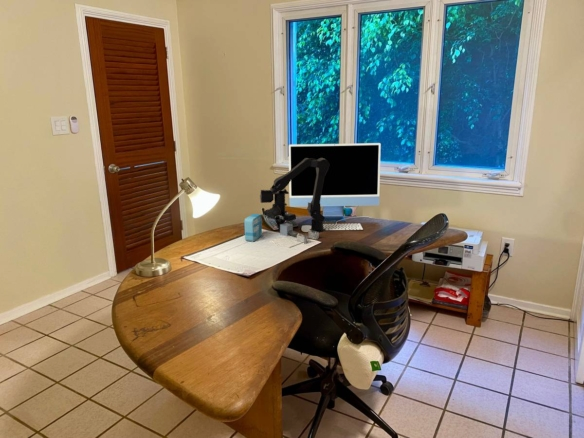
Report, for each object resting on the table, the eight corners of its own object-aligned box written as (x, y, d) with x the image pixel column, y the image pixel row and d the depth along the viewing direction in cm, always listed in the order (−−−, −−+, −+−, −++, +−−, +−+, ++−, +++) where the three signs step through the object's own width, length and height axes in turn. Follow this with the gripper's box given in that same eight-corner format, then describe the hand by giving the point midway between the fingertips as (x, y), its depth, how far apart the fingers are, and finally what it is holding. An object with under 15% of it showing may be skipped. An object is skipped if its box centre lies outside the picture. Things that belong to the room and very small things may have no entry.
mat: (281, 237, 226) (281, 236, 226) (301, 243, 217) (301, 242, 217) (269, 241, 220) (269, 241, 220) (289, 247, 211) (289, 247, 211)
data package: (253, 242, 219) (252, 219, 216) (245, 241, 220) (244, 218, 217) (262, 235, 230) (261, 213, 227) (254, 234, 231) (253, 213, 228)
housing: (311, 236, 228) (311, 229, 227) (318, 238, 224) (318, 231, 223) (296, 241, 219) (296, 234, 218) (304, 243, 216) (304, 236, 215)
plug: (285, 232, 235) (285, 222, 233) (303, 237, 227) (303, 227, 225) (280, 234, 232) (280, 224, 230) (297, 239, 223) (297, 229, 222)
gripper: (256, 201, 231) (257, 229, 235) (281, 207, 218) (282, 237, 223) (271, 198, 238) (271, 225, 243) (296, 203, 226) (296, 232, 230)
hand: (280, 230), depth 234 cm, fingers closed
